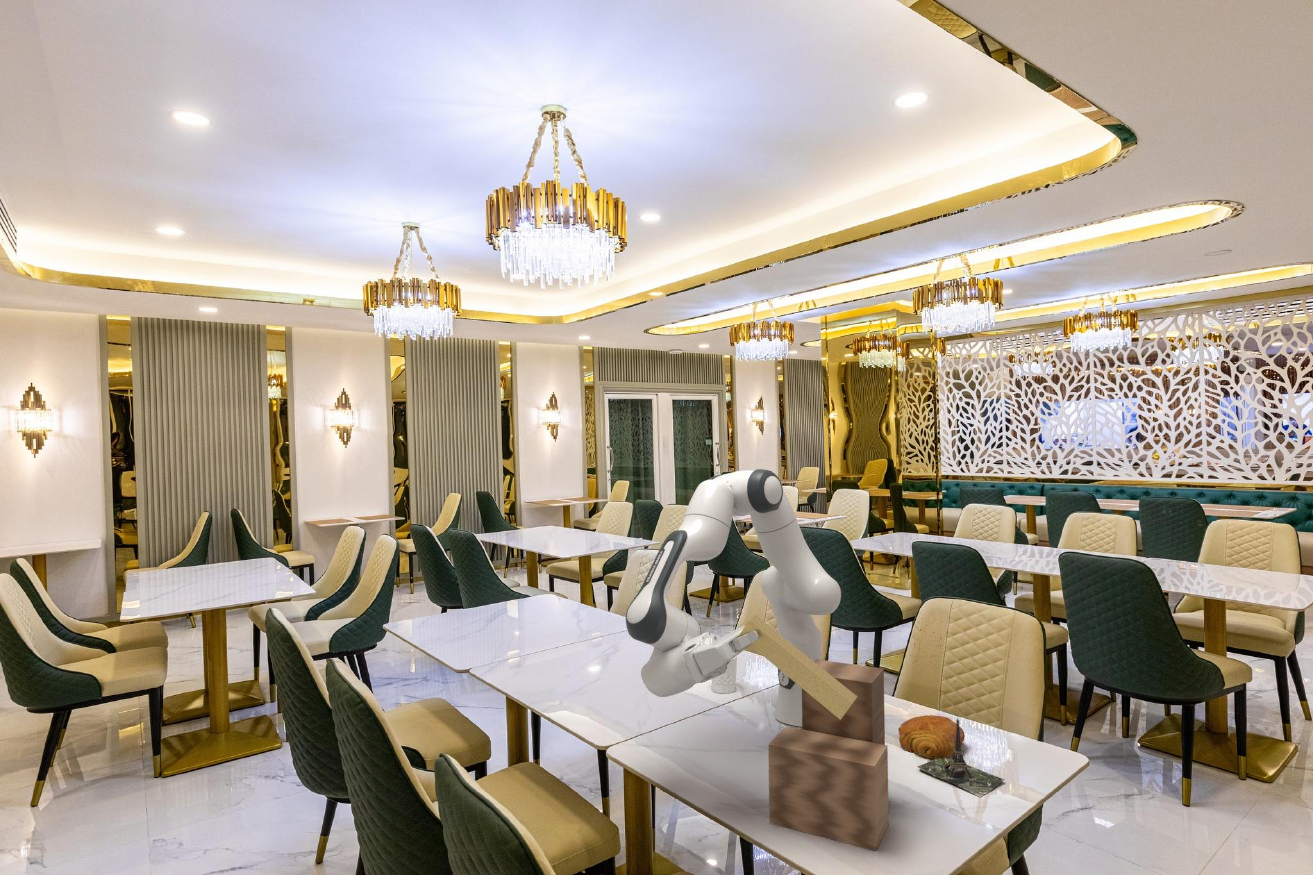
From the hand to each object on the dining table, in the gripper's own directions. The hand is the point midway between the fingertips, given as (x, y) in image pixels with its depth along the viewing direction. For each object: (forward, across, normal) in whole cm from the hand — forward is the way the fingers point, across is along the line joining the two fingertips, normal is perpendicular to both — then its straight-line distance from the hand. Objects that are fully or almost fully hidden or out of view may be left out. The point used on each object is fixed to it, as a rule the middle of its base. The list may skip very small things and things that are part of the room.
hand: (763, 630), depth 146 cm
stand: (-6, -5, -37) cm, 38 cm away
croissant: (+3, -45, -44) cm, 63 cm away
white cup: (-49, -59, -15) cm, 78 cm away
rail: (+1, 0, -9) cm, 9 cm away
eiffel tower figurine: (+10, -32, -47) cm, 58 cm away
